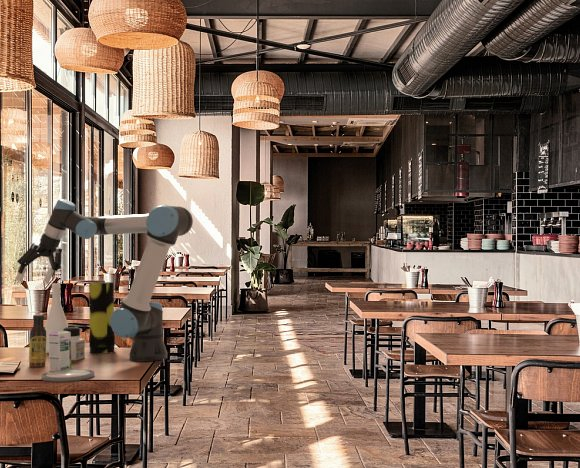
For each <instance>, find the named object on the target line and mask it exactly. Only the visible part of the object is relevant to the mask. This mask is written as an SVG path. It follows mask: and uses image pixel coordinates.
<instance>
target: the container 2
mask: <svg viewBox="0 0 580 468" xmlns="http://www.w3.org/2000/svg"><path fill="white" fill-rule="evenodd" d="M88 285H89V287H88V290H89V291H88V295H89V297H88V298H89V303H88V304H89V340H88V342H89V344H88V345H89V346H88V347H89V353H91V354H95V355H97V354H98V353H104V354H111V352H112V353H114V352H115V345H116V342H115V341H116V339H115V338H116V336H115V335H116V334H115V333H114V332H113V330H112V327H111V325H110V318H111V315H112V313H113V312H114V311H115V296H114V293H115V292H114V287H115V286H114V285H115V284H114V282H109V281H108V282H106V281H105V282H89V284H88ZM98 355H99V354H98Z"/></svg>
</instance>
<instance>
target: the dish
mask: <svg viewBox="0 0 580 468" xmlns="http://www.w3.org/2000/svg"><path fill="white" fill-rule="evenodd" d="M94 377H95V371H94V370H89V369H71V370H59V371H48V372H44V373H42V374H41V380H42V381H44V382H50V383H51V382H52V383H67V382H68V383H69V382H77V381H78V382H79V381H85V380H88V379H89V380H90V379H91V378H92V379H93V378H94Z"/></svg>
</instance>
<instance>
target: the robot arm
mask: <svg viewBox="0 0 580 468" xmlns="http://www.w3.org/2000/svg"><path fill="white" fill-rule="evenodd" d="M76 207H77V205H76V204H75V203H74V202H72V201H70V200H68V199H65V198H59V199H57V201H56V203H55V205H54V207H53V209H52V212H51V215H50V217H49V220H48V222H47V223H46V226H45V229H44V230H43V231H44V232H42V235H41V237H40V239H39V244H36V243H35V242H33V243H31V246H30V247H29V248H28V249H27V250H26V252H25V253H23V255H21V257H20V258H19V259H18V260H17V261H16V262H17V263H18V264H19V265H20V266H19V268H18V270H17V272H18V273H17V275H16V277H15V279H16V280H17V281H18V282H19V283H22V281H23V278H24V276H25V274H26V272H27V270H28V267H27V266H29V265H30V264H31V263H33V262H35V261H36V260H37V259H38V258H41V257H46V258H48V260H49V264H50V267H48V270H47V272H46V274H45V276H44V278H43V280H42V281H43V282H44V283H45V284H46V285H49V283H50V281H51V279H52V277H54V274H55V272H58V270H61V269H62V253H63V248H61V247H60V246H59V245H60V244H61V241H62V239H63V237H64V235H65V232H66V229H67V230H69V231H71V232H72V233H74V234H76V235H77V236H78V237H80V238H83V239H84V240H90V239H91V238H93V237H94V236H106V235H122V234H123V235H124V234H143V233H144V234H145V233H146V234H145V235H146V237H147V239H148V240H147V243H146V245H145V248H144V251H143V254H142V257H141V259H140V262H139V264H138V268H137V270H136V273H135V275H134V277H133V280H132V284H131V286H130V290H129V292H128V295H127V296H126V297H123V298H122V299H121V302H120V304H119V307H118V308H116V309H114V312H113V313H112V315H111V318H110V325H111V327H112V330H113V332H114V335H116V336H118V337H119V338H122V339H130V338H133V341H132V345H131V348H130V351H129V355H128V356H129V360H130V361H133V362H154V361H162V360H167V359H168V351H167V348H166V345H165V342H164V339H163V333H164V332H163V331H164V330H163V328H164V327H163V323H164V322H163V319H164V318H163V311H164V310H163V305H162V303H160V302H157V301H156V302H155V301H152V302H151V299H152V297H153V293H154V291H155V288H156V285H157V283H158V280H159V277H160V274H161V272H162V269H163V268H164V267H163V266H164V264H165V261H166V258H167V255H168V253H169V250H170V248H171V247H173V246H175V245H176V244H177V240H178V237H181V236H184V235H186V234H188V233H189V232H190V231H191V229H192V227H193V223H194V220H193V216H192V213H191V212H190V211H189V210H188V209H187V208H186V207H182V206H177V205H176V206H173V205H167V204H165V205H164V204H163V205H158V206H155V207H154V208H152V209H151V210H150V211H149V213H144V214H127V215H126V214H125V215H112V216H111V215H110V216H107V215H106V216H87V215H86V216H85V215H82V214H80V212H79V213H78V212H77V210H76Z"/></svg>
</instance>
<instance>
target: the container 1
mask: <svg viewBox="0 0 580 468" xmlns="http://www.w3.org/2000/svg"><path fill="white" fill-rule="evenodd" d="M63 331H69V332H71V361H78V360H81V359H84V358H85V357H86V356H85V355H86V354H85V353H86V352H85V351H86V350H85V348H86V347H85V344H86V343H85V338H80V337H81V328H80V327H78V326H68V327H66V328H64V329H63Z"/></svg>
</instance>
